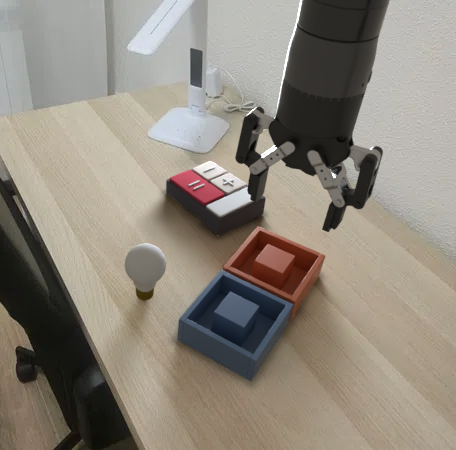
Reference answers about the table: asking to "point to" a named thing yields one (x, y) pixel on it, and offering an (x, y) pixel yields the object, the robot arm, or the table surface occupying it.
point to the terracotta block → (273, 266)
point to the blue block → (235, 319)
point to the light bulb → (145, 268)
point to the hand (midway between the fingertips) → (291, 212)
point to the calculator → (214, 197)
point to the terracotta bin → (300, 274)
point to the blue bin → (223, 349)
